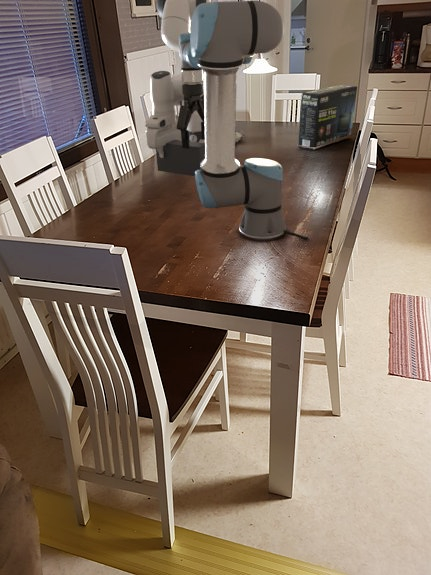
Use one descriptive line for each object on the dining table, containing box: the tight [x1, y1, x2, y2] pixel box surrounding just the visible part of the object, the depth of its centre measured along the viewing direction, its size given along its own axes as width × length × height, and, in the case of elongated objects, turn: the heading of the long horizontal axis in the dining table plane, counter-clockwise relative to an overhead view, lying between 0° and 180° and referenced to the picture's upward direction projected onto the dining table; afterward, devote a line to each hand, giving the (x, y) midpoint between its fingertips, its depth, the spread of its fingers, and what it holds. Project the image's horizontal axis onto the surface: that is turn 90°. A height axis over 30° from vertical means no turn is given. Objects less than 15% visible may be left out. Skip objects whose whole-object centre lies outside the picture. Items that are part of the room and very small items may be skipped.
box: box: [155, 139, 205, 177], centre depth 179 cm, size 20×6×11 cm, turn 60°
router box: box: [297, 84, 358, 151], centre depth 238 cm, size 36×11×27 cm, turn 134°
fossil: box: [235, 129, 246, 143], centre depth 254 cm, size 18×11×15 cm
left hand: (167, 154), depth 182 cm, fingers closed on box, 6 cm apart
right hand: (195, 143), depth 173 cm, fingers open, 13 cm apart
